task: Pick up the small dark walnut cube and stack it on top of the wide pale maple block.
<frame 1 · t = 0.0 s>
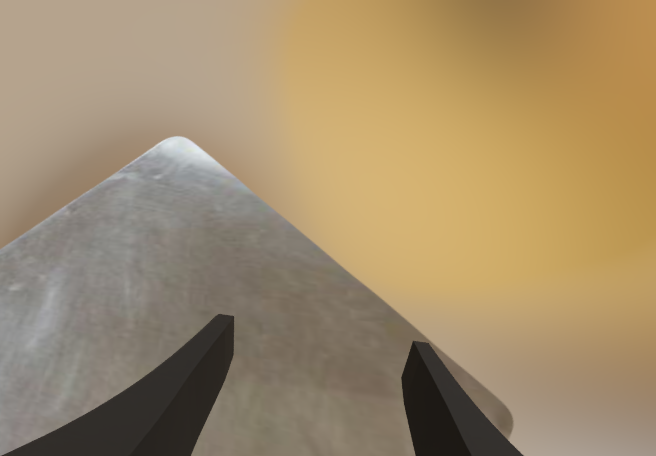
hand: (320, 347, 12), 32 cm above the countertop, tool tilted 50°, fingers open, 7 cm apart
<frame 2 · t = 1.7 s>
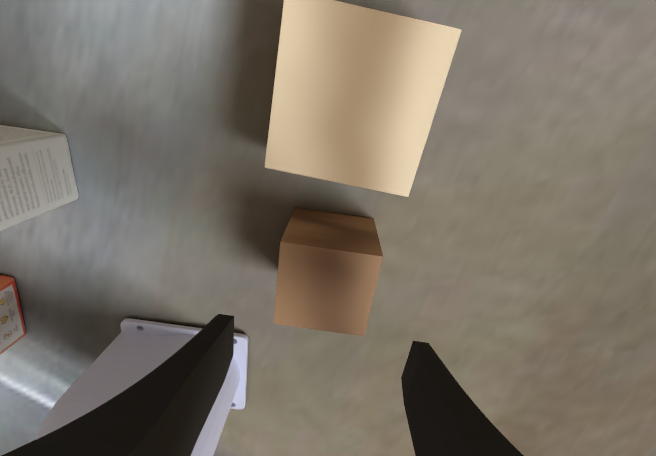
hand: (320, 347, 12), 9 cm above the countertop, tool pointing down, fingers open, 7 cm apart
maple block: (351, 102, 17), on the countertop
walnut cube: (329, 247, 21), on the countertop
skincare box: (30, 161, 19), on the countertop
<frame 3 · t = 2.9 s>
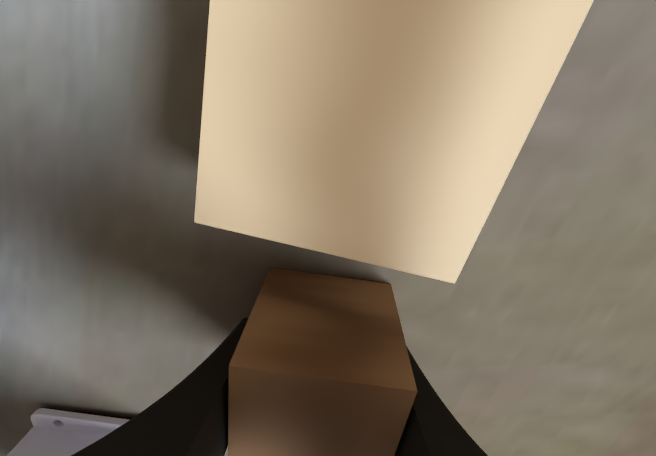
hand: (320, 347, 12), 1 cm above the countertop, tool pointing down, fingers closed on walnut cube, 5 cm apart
maple block: (357, 107, 10), on the countertop
walnut cube: (322, 323, 14), on the countertop, touching gripper
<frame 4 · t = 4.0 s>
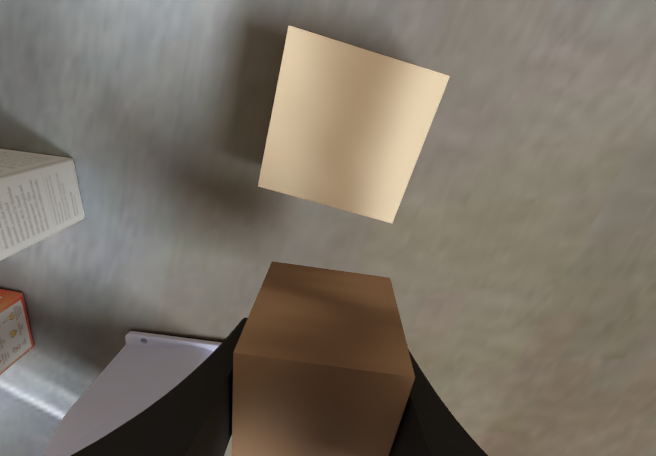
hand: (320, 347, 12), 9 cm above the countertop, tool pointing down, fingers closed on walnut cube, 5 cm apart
maple block: (345, 127, 18), on the countertop
walnut cube: (323, 317, 14), point 7 cm above the countertop, touching gripper
skincare box: (39, 183, 20), on the countertop
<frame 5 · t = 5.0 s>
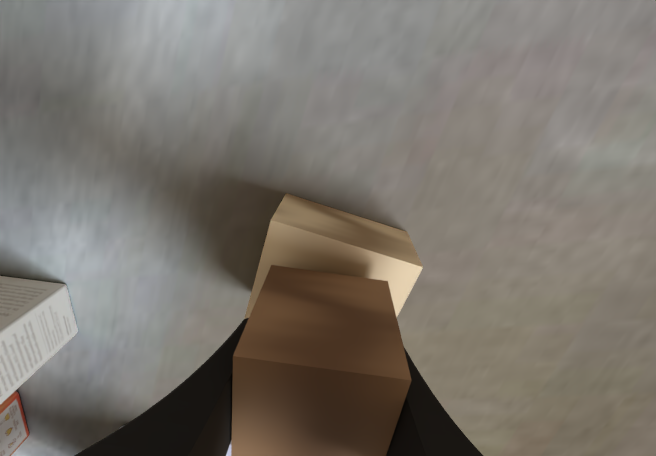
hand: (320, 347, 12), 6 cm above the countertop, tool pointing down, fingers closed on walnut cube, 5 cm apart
maple block: (328, 263, 19), on the countertop
walnut cube: (322, 319, 14), point 5 cm above the countertop, touching gripper
skincare box: (33, 301, 21), on the countertop
when the fingers open (6 cm above the countertop, at t = 5.4 s): walnut cube stays where it is, resting on maple block.
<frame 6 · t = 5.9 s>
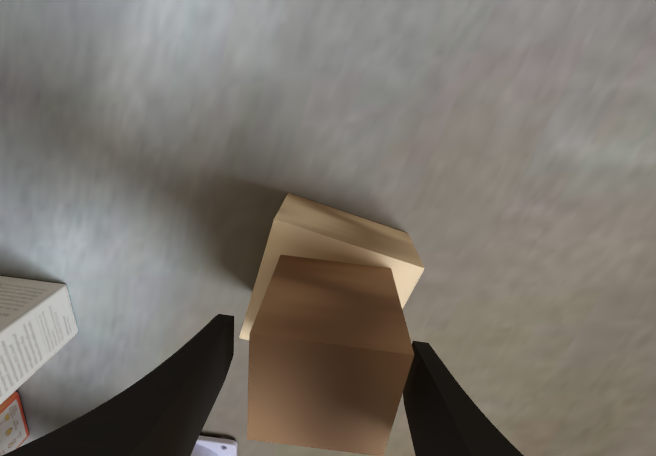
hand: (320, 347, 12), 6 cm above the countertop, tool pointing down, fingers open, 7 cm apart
maple block: (328, 263, 19), on the countertop, touching walnut cube
walnut cube: (329, 306, 15), point 4 cm above the countertop, touching maple block
skincare box: (33, 301, 21), on the countertop
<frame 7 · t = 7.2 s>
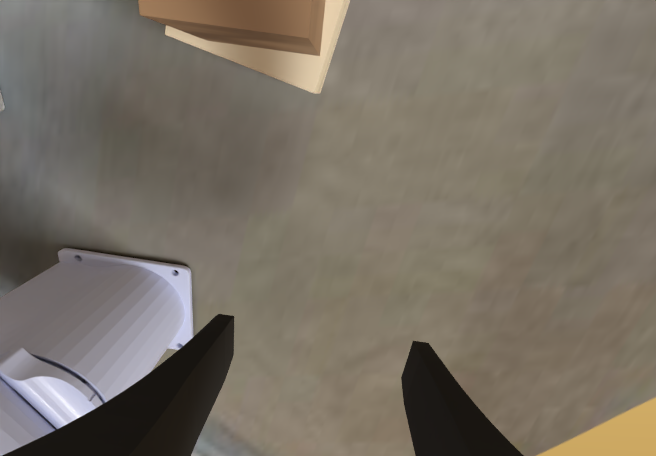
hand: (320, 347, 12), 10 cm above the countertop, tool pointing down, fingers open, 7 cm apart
maple block: (279, 0, 16), on the countertop, touching walnut cube
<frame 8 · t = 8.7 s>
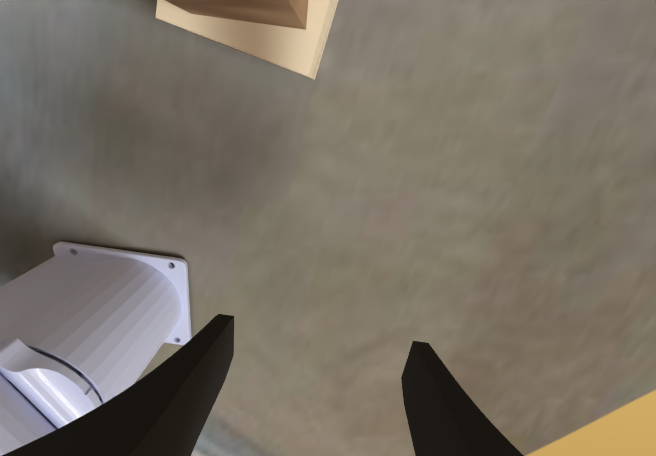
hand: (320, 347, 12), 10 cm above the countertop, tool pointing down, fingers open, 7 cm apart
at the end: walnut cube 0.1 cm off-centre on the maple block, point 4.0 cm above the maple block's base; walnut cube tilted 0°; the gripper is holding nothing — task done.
